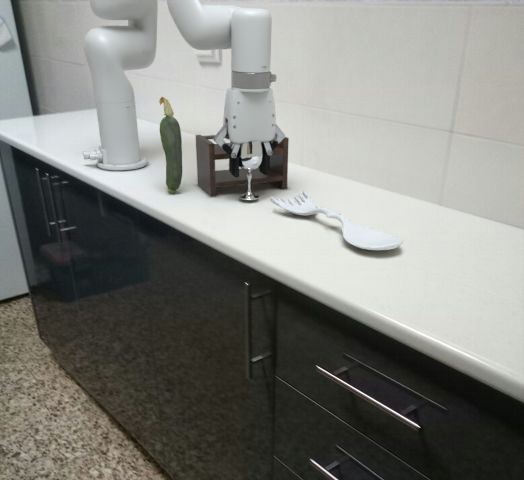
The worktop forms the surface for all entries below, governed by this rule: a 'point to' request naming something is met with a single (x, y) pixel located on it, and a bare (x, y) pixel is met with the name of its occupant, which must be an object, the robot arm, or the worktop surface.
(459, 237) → the worktop surface
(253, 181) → the rack
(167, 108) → the vegetable
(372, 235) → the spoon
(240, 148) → the wineglass
